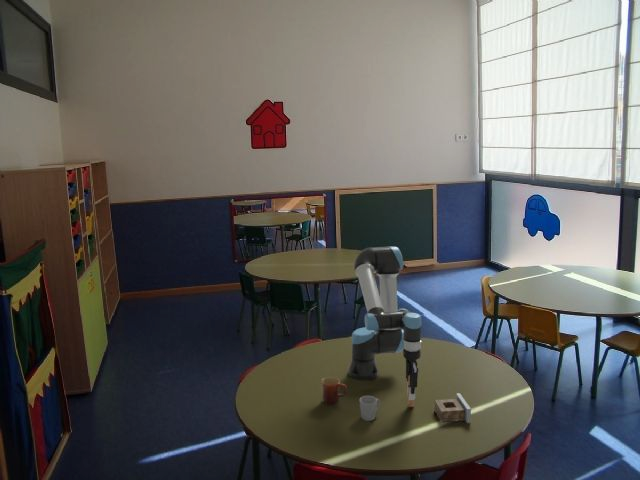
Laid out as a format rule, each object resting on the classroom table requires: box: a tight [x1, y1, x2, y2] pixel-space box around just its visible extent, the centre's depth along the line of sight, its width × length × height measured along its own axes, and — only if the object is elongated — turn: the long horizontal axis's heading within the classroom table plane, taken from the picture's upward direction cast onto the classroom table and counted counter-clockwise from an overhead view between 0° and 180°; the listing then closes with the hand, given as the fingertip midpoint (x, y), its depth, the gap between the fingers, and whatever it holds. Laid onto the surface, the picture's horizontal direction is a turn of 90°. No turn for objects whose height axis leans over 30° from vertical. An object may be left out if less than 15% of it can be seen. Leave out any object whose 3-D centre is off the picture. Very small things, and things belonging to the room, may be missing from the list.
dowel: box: [407, 375, 415, 408], centre depth 244 cm, size 3×3×14 cm
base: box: [455, 392, 472, 423], centre depth 237 cm, size 2×14×6 cm, turn 5°
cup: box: [359, 395, 381, 422], centre depth 237 cm, size 8×10×8 cm
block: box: [434, 398, 465, 423], centre depth 237 cm, size 10×10×5 cm
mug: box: [320, 376, 348, 406], centre depth 250 cm, size 12×9×10 cm
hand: (411, 397), depth 244 cm, fingers closed on dowel, 2 cm apart
